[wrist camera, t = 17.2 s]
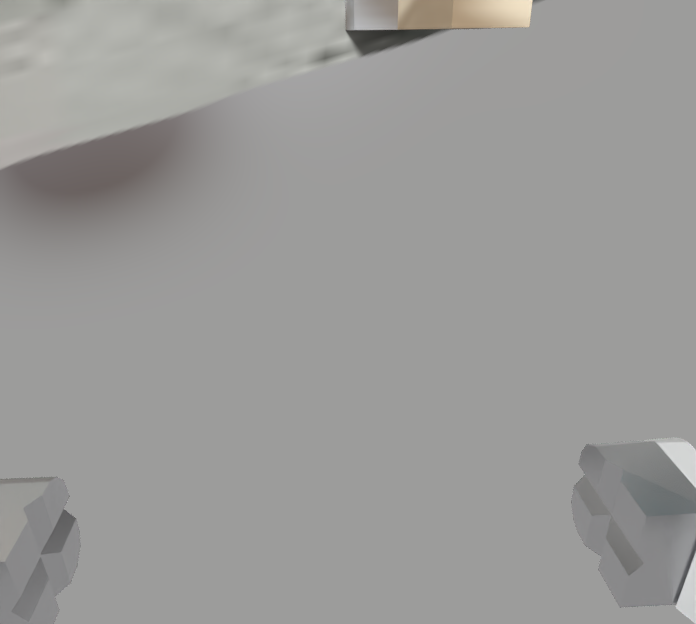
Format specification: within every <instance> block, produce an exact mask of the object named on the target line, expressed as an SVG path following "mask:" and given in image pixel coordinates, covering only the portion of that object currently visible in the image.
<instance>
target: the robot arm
mask: <svg viewBox="0 0 696 624" xmlns="http://www.w3.org/2000/svg"><path fill="white" fill-rule="evenodd" d="M579 466H580V467H581V469H582V470H583V472H584V473H585V475H584V476H583V477H582V478H581V479H580V480H579V481H578V482H577V483H576V485H574V489H573V495H572V501H571V503H572V512H573V520H574V523H575V526H576V528H577V531H578V534H579V535H580V537H581V539H582V541H583V543H584V545H585V546H586V547H588V548H589V549H591V550H592V551H594V552H595V553H597V554H598V555H600V556H601V559H600V564H599V569H598V570H599V572H600V573H601V575H602V577H603V579H604V580H605V582H606V584H607V586H608V587H609V589H610V591H611V593H612V595H613V596H614V598H615V600H616V602H617V603H618V605H619V607H636V606H637V607H638V606H658V605H676V608H677V609H678V610H679V611H681V612H682V613H683V614H684V615H685V616H687V617H688V618H689V619H690V620H692V621H693V622H694V623H695V624H696V450H695V449H694V448H693V447H692V446H691V445H690V443H688V442H687V441H685V440H683V439H681V438H679V437H675V438H662V439H650V440H647V441H631V442H617V443H601V444H587V445H586V446H585V447H584V449H583V450H582V452H581V456H580V460H579ZM68 499H69V493H68V491H67V488H66V485H65V482H64V480H63V479H60V478H58V477H39V478H11V479H0V624H54V622H55V620H56V617H57V615H58V613H59V607H58V604H57V602H56V598H55V596H56V595H57V594H58V593H60V592H61V591H62V590H63V589H64V588H65V587H67V586H68V585H69V584H70V583H71V581H72V578H73V576H74V573H75V570H76V568H77V565H78V558H79V552H80V531H79V527H78V524H77V520H76V518H75V517H74V516H72V515H71V514H69V513H68V512H67V511H66V510H64V507H65V505H66V503H67V501H68Z"/></svg>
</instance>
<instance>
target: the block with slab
mask: <svg viewBox="0 0 696 624" xmlns="http://www.w3.org/2000/svg"><path fill="white" fill-rule="evenodd" d="M532 1H533V0H345V8H346V30H423V29H487V28H488V29H489V28H516V27H529V26H530V18H531V10H532Z"/></svg>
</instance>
